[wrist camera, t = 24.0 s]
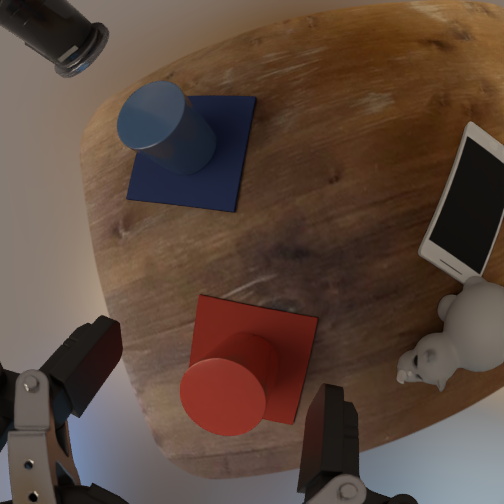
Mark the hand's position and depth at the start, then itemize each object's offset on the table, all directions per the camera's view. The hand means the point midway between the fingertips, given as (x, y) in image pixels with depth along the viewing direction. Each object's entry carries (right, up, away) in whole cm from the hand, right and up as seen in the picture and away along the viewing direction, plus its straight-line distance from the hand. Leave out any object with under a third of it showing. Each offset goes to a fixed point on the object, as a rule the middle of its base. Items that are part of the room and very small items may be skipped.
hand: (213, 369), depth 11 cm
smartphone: (+23, +9, +13) cm, 28 cm away
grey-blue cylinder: (-5, +15, +18) cm, 24 cm away
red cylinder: (+1, -6, +16) cm, 17 cm away
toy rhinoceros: (+19, -3, +13) cm, 24 cm away
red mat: (+1, -6, +17) cm, 18 cm away
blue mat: (-5, +15, +19) cm, 24 cm away
